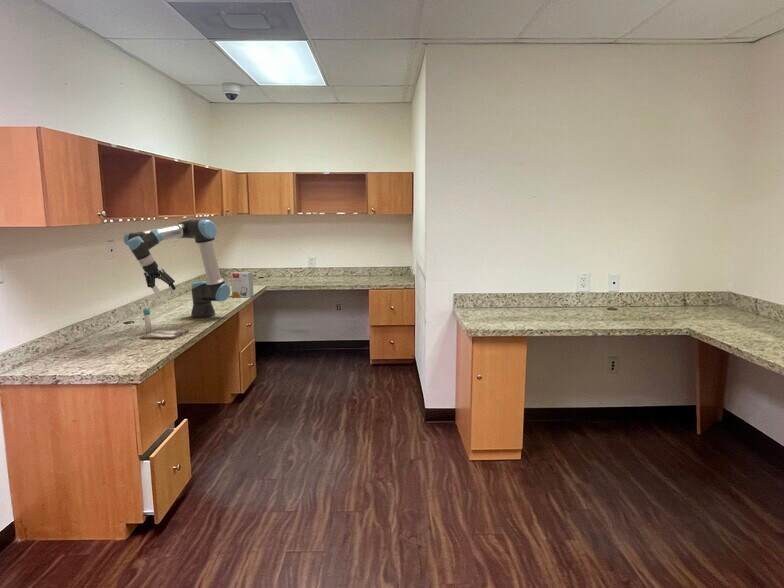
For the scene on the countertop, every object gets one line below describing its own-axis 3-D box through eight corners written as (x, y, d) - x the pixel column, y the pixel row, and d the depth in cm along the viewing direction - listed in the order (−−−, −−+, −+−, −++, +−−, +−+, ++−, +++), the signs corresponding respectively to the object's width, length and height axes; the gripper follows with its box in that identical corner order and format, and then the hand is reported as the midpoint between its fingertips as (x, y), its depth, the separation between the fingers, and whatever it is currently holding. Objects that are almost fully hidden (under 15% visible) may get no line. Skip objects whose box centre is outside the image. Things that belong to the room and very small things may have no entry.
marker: (148, 331, 296) (145, 308, 294) (153, 331, 296) (150, 308, 293) (144, 333, 293) (141, 309, 290) (149, 333, 292) (147, 309, 290)
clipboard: (157, 331, 296) (157, 328, 295) (188, 332, 293) (188, 328, 292) (140, 338, 280) (139, 335, 280) (173, 339, 277) (172, 335, 277)
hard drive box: (231, 297, 404) (229, 273, 401) (236, 295, 412) (234, 271, 408) (249, 297, 401) (247, 273, 397) (254, 296, 408) (252, 271, 405)
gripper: (128, 269, 280) (149, 300, 290) (158, 264, 268) (179, 297, 278) (138, 262, 286) (158, 293, 295) (168, 257, 274) (187, 289, 284)
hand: (168, 295), depth 287 cm, fingers open, 13 cm apart
